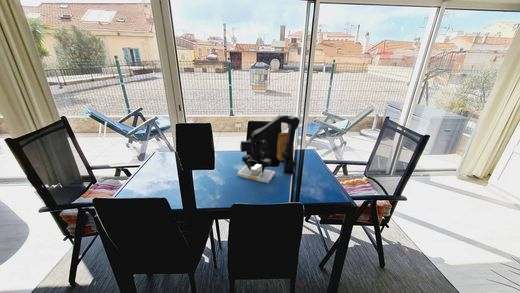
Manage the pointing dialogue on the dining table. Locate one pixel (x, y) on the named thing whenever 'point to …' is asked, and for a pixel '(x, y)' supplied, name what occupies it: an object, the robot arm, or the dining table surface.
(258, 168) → the grey block
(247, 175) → the rack
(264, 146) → the magazine
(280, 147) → the coffee package
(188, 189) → the dining table surface
